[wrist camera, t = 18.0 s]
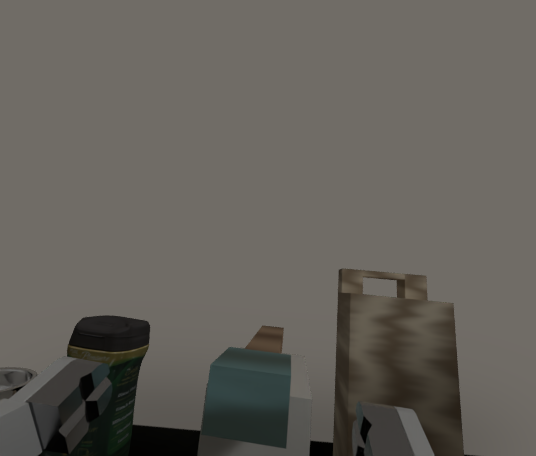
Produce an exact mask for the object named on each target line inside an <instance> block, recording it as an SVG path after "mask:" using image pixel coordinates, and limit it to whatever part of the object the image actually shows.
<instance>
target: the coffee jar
mask: <svg viewBox="0 0 536 456" xmlns="http://www.w3.org/2000/svg"><path fill="white" fill-rule="evenodd" d="M149 333H150V325H149V323H148V322H147V321H144V320H138V319H132V318H126V317H120V316H94V317H85V318H82V319H81V320H80V321H79V322H78V323H77V325H76V326H75V328H74V331H73V334H72V336H71V339H70V341H69V344H68V349H67V357H72V358H79V359H84V360H89V361H95V362H100V363H105V364H108V366H109V371H110V373H109V374H108V376H107V378H108V379H109V380H110V382H111V383H112V395H111V398H110V401H109V403H108V405H107V407H106V408H105V410H104V411H103V412H102V414H101V415H100V416H99V417H97V418H96V419H94V420H93V421H91V422H89V428H88V431H87V433H86V434H85V435H84V436H83V438H82V439H81V440H80V442H79V443H78V444H77V445H76V447H75V448H74V449H73V450H72V452H71V453H70V454H64V453H57V452H51V451H45V450H42V453H41V455H40V456H128V455H129V449H130V442H131V434H132V424H133V412H134V404H135V396H136V387H137V380H138V375H139V370H140V366H141V363H142V360H143V358H144V356H145V354H146V352H147V350H148V347H149Z"/></svg>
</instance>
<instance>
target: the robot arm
mask: <svg viewBox="0 0 536 456" xmlns="http://www.w3.org/2000/svg"><path fill="white" fill-rule="evenodd" d="M109 373H110V371H109V366H108V364H105V363H100V362H95V361H89V360H84V359H79V358H72V357H66V356H64V357H62V358H59V359H57V360H56V361H55V362H54V363H52V364H51V365H50V366H49V367H47V368H46V369H45V370H44V371H42V372H41V373H40V374H39V375H38V376H36V377H35V378H34V379H33V380H31V381H30V382H29V383H28V384H26V385H25V386H24V387H23V388H22V389H20V390H19V391H18V392H17V393H15V394H14V395H13V396H12V397H10V398H9V399H5V398H4V399H2V400H0V456H38V455H39V454H40V453H42V450H45V451H51V452H57V453H64V454H70V453H71V452H72V450H73V449H74V448H75V447H76V445H77V444H78V443H79V442H80V440H81V439H82V438H83V436H84V435H85V434H86V433H87V431H88V428H89V422H91V421H93V420H94V419H96V418H97V417H99V416H100V415H101V414H102V412H103V411H104V410H105V408H106V407H107V405H108V403H109V401H110V398H111V395H112V383H111V382H110V380H109V379H108V378H107V376H108V374H109ZM355 411H356V416H357V420H355V421H354V422H353V428H352V446H353V454H354V456H435V455H434V453H433V451H432V448H431V446H430V444H429V442H428V440H427V437H426V435H425V433H424V431H423V428H422V426H421V424H420V422H419V419H418V417H417V415H416V413H415V412H414V411H413V409H408V408H402V407H395V406H394V407H393V406H390V405H382V404H375V403H368V402H361V401H358V403H357V405H356V410H355Z"/></svg>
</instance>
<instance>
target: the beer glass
mask: <svg viewBox="0 0 536 456" xmlns="http://www.w3.org/2000/svg"><path fill="white" fill-rule="evenodd" d="M36 376H37V373H36V372H35V371H33V370H30V369H26V368H15V367H5V368H0V400H2V399H4V398H5V399H9V398H10V397H12V396H13V395H14V394H15V393H17V392H18V391H19V390H20V389H22V388H23V387H24V386H25V385H26V384H28V383H29V382H30V381H31V380H33V379H34V378H35V377H36Z"/></svg>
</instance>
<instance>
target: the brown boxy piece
mask: <svg viewBox="0 0 536 456" xmlns="http://www.w3.org/2000/svg"><path fill="white" fill-rule="evenodd" d="M363 277H367V278H378V279H389V280H397V298H396V297H386V296H375V295H364V294H362V292H363ZM336 346H337V347H336V377H335V407H334V408H335V409H334V439H333V456H354V454H353V446H352V428H353V422H354V421H355V420H357V416H356V411H355V410H356V405H357V403H358V401H361V402H368V403H375V404H382V405H390V406H393V407H394V406H395V407H402V408H408V409H413V411H414V412H415V413H416V415H417V417H418V419H419V422H420V424H421V426H422V428H423V431H424V433H425V435H426V437H427V440H428V442H429V444H430V446H431V448H432V451H433V453H434V455H435V456H464V450H463V436H462V423H461V409H460V408H461V407H460V392H459V378H458V364H457V349H456V334H455V320H454V305H453V303H447V302H436V301H427V279H426V276H422V275H410V274H399V273H387V272H376V271H365V270H353V269H340V270H339V282H338V313H337V344H336Z"/></svg>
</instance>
